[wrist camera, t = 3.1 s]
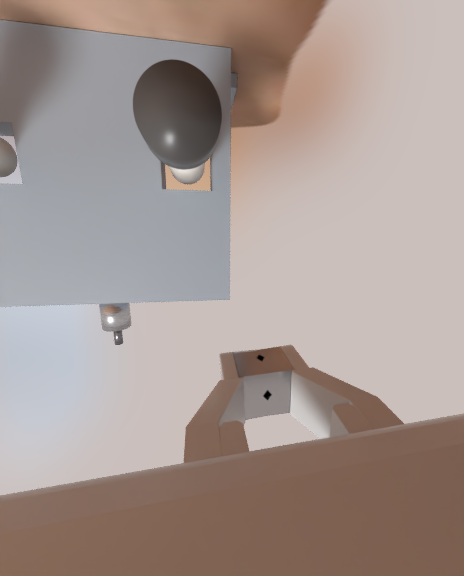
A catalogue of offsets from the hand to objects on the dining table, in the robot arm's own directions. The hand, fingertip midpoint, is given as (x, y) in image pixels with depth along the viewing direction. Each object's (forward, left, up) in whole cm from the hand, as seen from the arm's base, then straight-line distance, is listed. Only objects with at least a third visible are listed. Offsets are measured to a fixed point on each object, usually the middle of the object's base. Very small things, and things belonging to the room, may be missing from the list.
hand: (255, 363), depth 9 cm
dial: (+15, -13, +2) cm, 20 cm away
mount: (+17, -14, -20) cm, 30 cm away
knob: (+10, -5, -14) cm, 18 cm away
